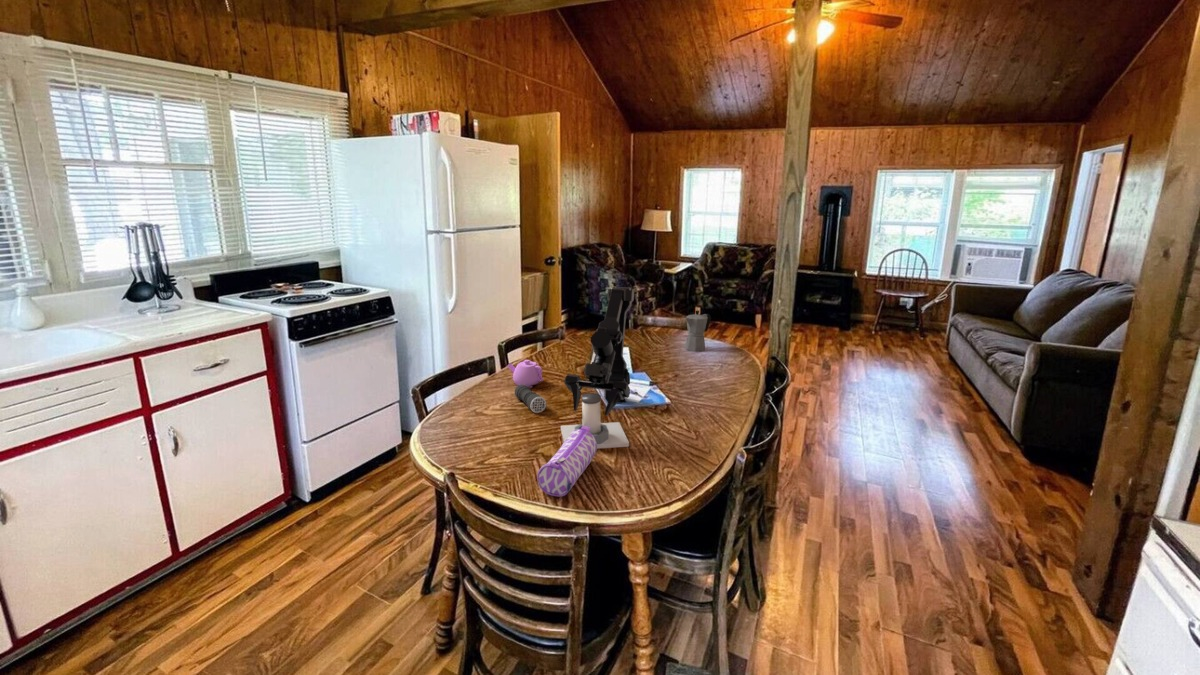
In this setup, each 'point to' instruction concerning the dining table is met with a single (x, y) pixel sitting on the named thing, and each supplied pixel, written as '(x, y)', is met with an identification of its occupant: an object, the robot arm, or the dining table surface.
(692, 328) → the coffeepot
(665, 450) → the dining table surface
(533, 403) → the flashlight
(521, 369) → the teapot
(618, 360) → the robot arm
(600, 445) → the socket plate
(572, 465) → the pencil case
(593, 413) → the canister
